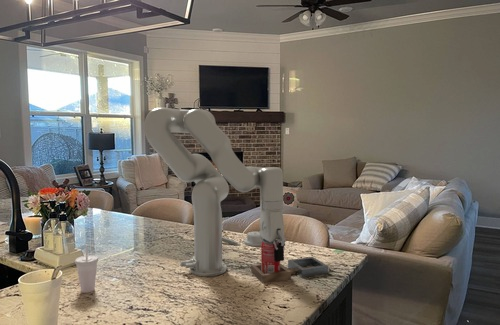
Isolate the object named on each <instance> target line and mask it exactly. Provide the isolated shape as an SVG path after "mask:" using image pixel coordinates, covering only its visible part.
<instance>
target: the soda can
mask: <svg viewBox="0 0 500 325" xmlns="http://www.w3.org/2000/svg"><path fill="white" fill-rule="evenodd" d="M275 240H276V239H275ZM278 243H279V242H277V245H278ZM260 247H261V249H260V251H261V252H260V253H261V257H260V258H261V259H260V264H261V271H262V272H263V273H264V274H267V273H274V272H280V264H281V261H278V262H275V261H274V249H275V246H274V243H273V242H271V243H270V242H268V241H267V240H265V239H264V240H263V242H262V244H261V246H260Z"/></svg>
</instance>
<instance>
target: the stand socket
mask: <svg viewBox="0 0 500 325" xmlns="http://www.w3.org/2000/svg"><path fill="white" fill-rule="evenodd" d="M250 273H251V274H252V275H253V276H254V277H255V278H256V279H257V280H258V281H259V282H260V283H261V284H267V283H274V282H281V281H286V280H287V281H288V280H291V279H292V274H291V271H290V270H288V269H287V266H284V265H283V264H282V263H280V272H274V273H267V274H264V273H263V272H262V271H261V263H256V264H251V265H250Z"/></svg>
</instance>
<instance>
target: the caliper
mask: <svg viewBox="0 0 500 325" xmlns="http://www.w3.org/2000/svg"><path fill="white" fill-rule="evenodd" d="M223 242H224V243H227V244H229V245H233V246H238V247H239V246H241V244H240V243H238V241H235V240H232V239H230V238H227V237H223V236H222V243H223Z"/></svg>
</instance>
